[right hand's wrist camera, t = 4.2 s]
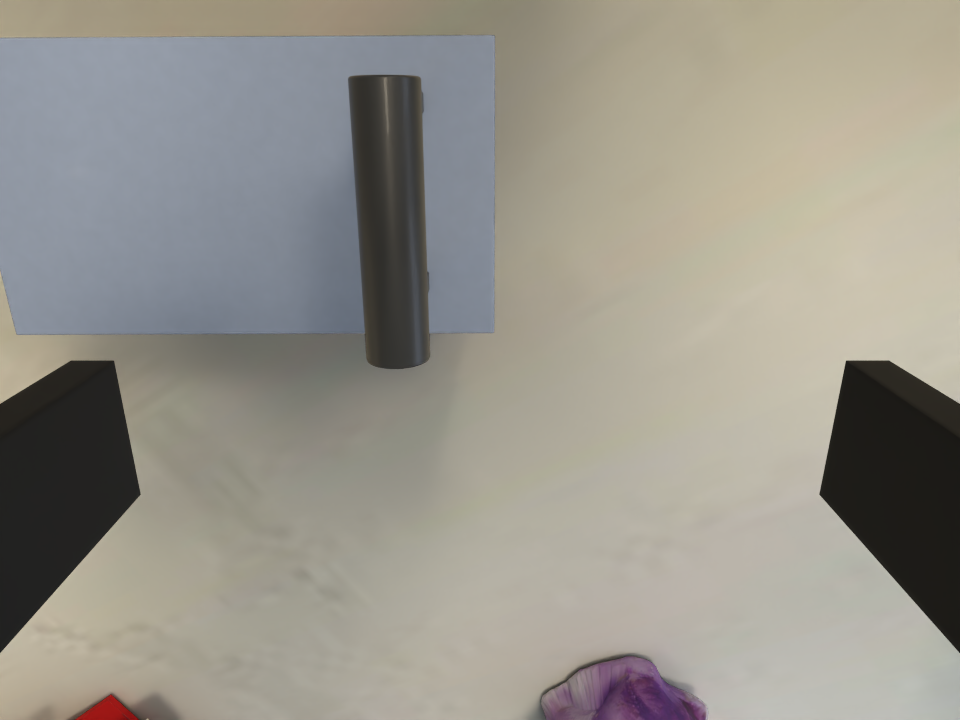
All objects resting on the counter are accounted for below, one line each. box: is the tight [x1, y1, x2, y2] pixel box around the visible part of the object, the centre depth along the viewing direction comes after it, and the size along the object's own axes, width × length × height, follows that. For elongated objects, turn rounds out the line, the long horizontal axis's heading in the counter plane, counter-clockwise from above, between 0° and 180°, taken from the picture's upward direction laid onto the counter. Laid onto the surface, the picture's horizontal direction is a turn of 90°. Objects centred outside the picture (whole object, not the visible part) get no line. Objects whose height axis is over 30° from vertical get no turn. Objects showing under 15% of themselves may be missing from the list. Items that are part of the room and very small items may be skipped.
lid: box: [0, 35, 495, 369], centre depth 21 cm, size 18×10×9 cm, turn 90°
